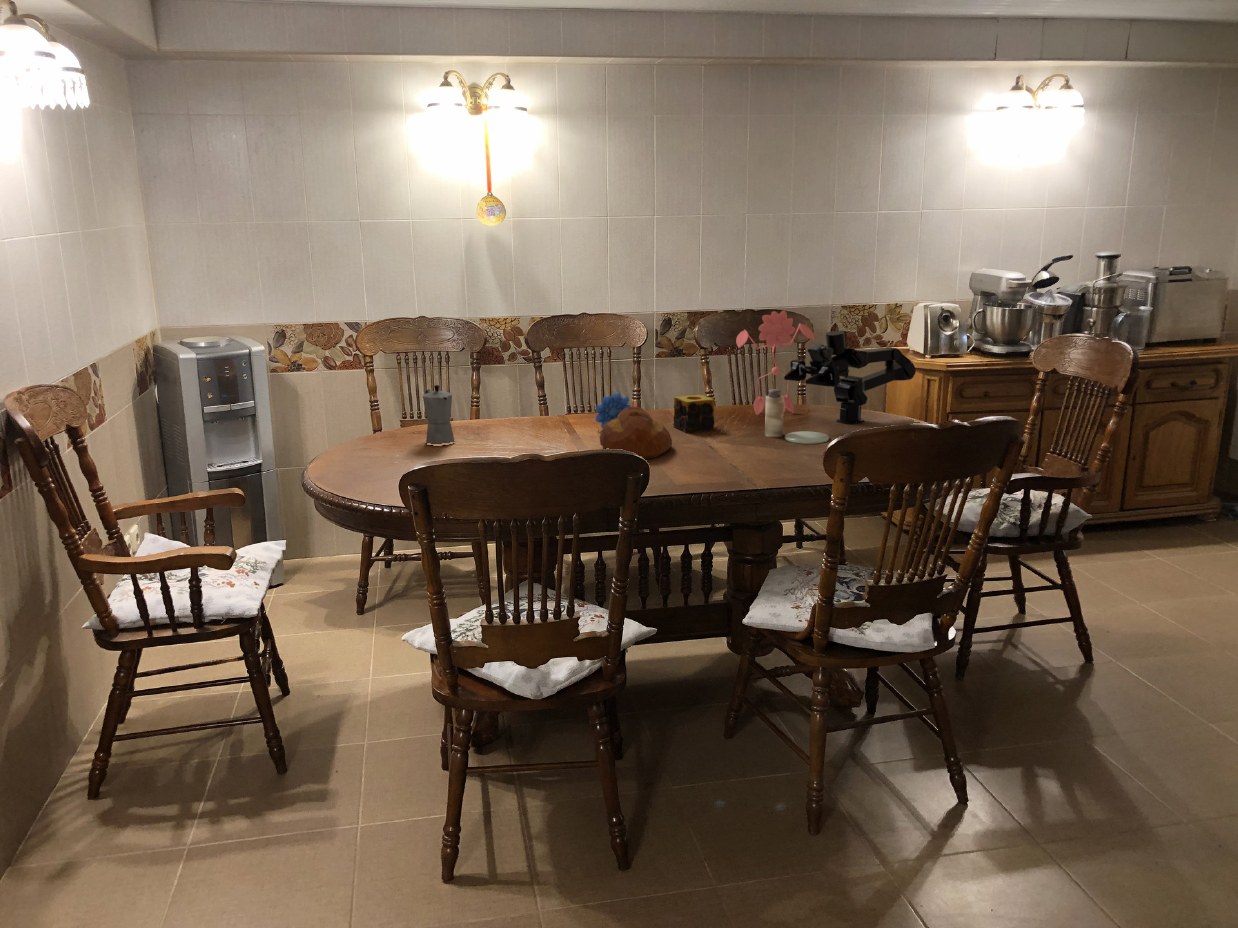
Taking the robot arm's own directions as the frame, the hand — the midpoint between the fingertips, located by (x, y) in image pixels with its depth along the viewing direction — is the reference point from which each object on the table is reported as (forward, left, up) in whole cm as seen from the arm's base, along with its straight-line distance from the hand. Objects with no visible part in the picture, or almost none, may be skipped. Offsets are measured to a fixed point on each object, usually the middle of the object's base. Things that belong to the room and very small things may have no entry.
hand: (795, 380), depth 300 cm
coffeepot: (+92, -60, -17) cm, 111 cm away
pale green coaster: (+3, +8, -17) cm, 19 cm away
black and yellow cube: (+20, -25, -17) cm, 36 cm away
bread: (+50, -15, -17) cm, 55 cm away
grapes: (+40, -41, -17) cm, 59 cm away
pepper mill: (+7, -2, -17) cm, 18 cm away
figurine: (-13, -22, -17) cm, 30 cm away
